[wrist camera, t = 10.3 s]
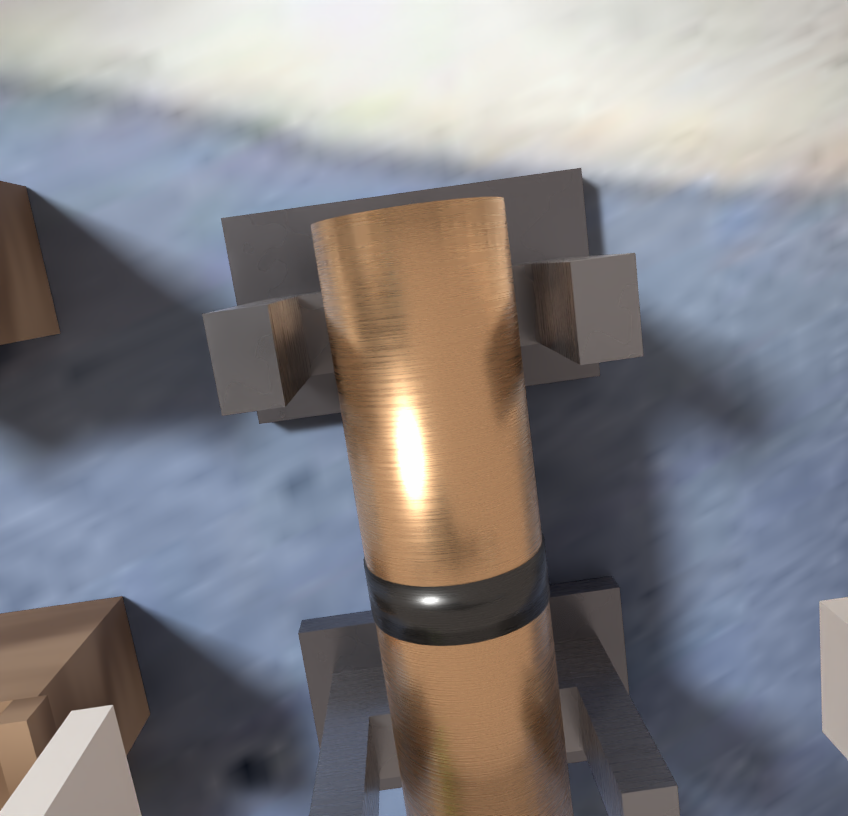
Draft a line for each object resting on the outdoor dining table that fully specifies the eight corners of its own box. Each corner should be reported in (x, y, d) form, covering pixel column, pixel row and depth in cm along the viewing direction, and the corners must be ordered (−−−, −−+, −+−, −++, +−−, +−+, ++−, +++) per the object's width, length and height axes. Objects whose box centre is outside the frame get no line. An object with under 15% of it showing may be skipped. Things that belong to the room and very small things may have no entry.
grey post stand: (228, 220, 25) (132, 194, 16) (574, 171, 25) (669, 118, 16) (331, 779, 29) (300, 1003, 20) (626, 737, 29) (725, 942, 20)
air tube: (319, 231, 21) (295, 219, 16) (491, 207, 21) (521, 188, 16) (414, 821, 25) (419, 960, 20) (560, 799, 25) (601, 932, 20)
